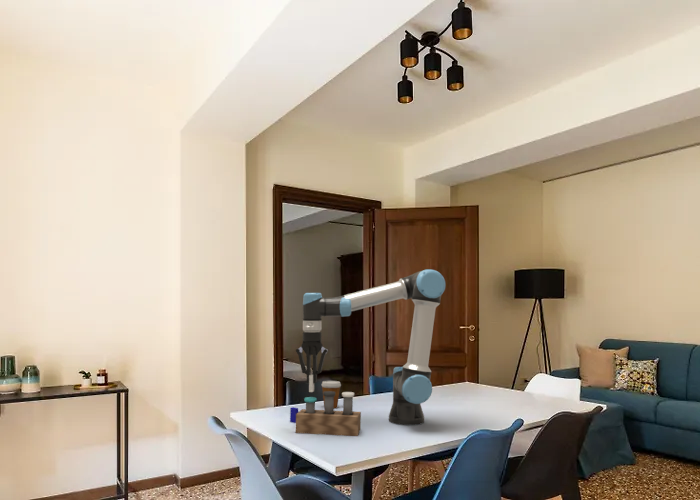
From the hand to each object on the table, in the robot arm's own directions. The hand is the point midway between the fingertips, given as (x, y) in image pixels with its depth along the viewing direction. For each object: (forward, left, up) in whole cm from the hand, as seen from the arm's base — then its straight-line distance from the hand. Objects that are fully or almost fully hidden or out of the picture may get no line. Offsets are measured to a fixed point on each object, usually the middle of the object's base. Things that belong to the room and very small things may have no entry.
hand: (311, 391), depth 206 cm
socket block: (-7, 0, -15) cm, 17 cm away
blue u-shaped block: (+7, -17, -15) cm, 24 cm away
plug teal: (0, 0, -12) cm, 12 cm away
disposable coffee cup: (0, -46, -15) cm, 48 cm away
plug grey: (-15, 0, -9) cm, 17 cm away
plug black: (-7, 0, -9) cm, 11 cm away
